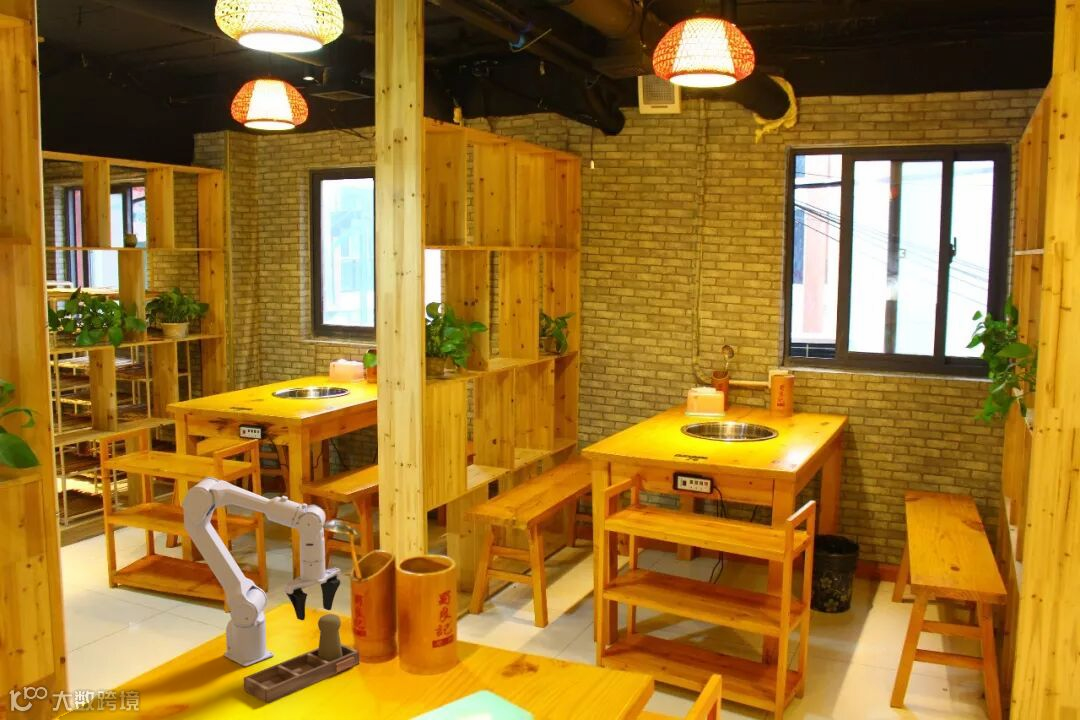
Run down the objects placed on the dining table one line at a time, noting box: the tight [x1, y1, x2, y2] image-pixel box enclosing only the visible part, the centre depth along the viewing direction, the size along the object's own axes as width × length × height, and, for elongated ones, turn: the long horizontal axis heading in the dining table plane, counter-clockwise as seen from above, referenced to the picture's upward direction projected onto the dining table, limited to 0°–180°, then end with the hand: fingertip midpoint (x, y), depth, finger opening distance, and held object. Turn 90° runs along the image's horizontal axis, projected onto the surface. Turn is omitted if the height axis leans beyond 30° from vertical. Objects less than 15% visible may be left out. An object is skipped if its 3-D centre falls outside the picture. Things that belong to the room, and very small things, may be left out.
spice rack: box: [243, 643, 360, 704], centre depth 204 cm, size 9×25×3 cm, turn 141°
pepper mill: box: [317, 613, 343, 662], centre depth 210 cm, size 6×6×11 cm
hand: (314, 614), depth 214 cm, fingers open, 7 cm apart
